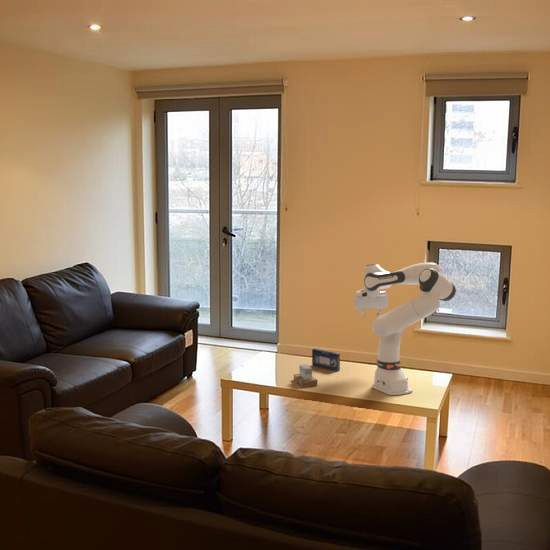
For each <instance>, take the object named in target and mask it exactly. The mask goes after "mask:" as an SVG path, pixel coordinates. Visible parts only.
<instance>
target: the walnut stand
mask: <svg viewBox="0 0 550 550" xmlns="http://www.w3.org/2000/svg"><path fill="white" fill-rule="evenodd" d="M293 380H294V381H295V382H296V383H297V384H298V383H299V386H301V387H302V388H309V386H311V387H317V386H318V379H316V378H315V377H314V376H312V379H309V380H304V379H303V378H302V377H301V376H300V373H296V374H293ZM316 385H317V386H316Z"/></svg>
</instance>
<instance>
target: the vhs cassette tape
mask: <svg viewBox="0 0 550 550" xmlns="http://www.w3.org/2000/svg"><path fill="white" fill-rule="evenodd" d="M340 360H341V354H340V353H338V352H337V353H336V352H333V351H328V350H322V349H319V348H313V349H311V363H312V364H311V365H313V366H312V367H316V366H317V367H316V368H320V367H321V368H320V369H324V368H325V370H329V369H330V371H333V370H335V371H334V372H339V370H340V368H341V365H340V364H341V361H340Z"/></svg>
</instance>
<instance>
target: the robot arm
mask: <svg viewBox="0 0 550 550" xmlns="http://www.w3.org/2000/svg"><path fill="white" fill-rule="evenodd" d="M363 271H364V272H363V288H362V289H359V290H357V291H355V294H354V295H355V297H354V299H353V308H354V310H357V311H360V312H359V313H361V318H366V313H364V311H365V310H372V309H378V310H377V312H376V316H377V317H376V318H375V319H374V320H373V322H372V325H371V329H372V333H374V334H375V336H377V337H380V340H379V342H378V346H377V347H378V348H377V359H376V366H377V367H376V370H375V372H374V375H373V376H374V377H373V383H372V385H371V388H372V389H375V390H377V391H379V392H382V393H384V394H387V395H389V396H399V395H407V394H411V393H413V389H412V388H411V387H410V386H409V385H408V384H409V383H408V381H409V377H408V376H406V375H405V373H404V371H403V370H402V364H401V361H400V349H401V348H400V347H401V340H402V338H403V332H404V329H405V328H407V327H409V326H411V325H413V324H415V323H417V322H420V321H421V320H424V319H425V318H427V317H429V316H430V315H432V314H434V313H435V312H436V311H437V310H438V309H439V308H440V305H441V301H442V302H448V301H451V300H452V299H453V298H454V297H455V296H456V293H457V288H456V286H455V285H454V284H453V282H451V281H450V280H449V279H448V278H447V277H446V276H445V275H444V274H442V271H441V268H440V266H439V265H438V263H435V262H420V263H416V264H415V263H414V264H411V265H409V266H406V267H403V268H401V269H399V270H396V271H392V272H391V271H389V270H388V271H387V270H385V269H384V268H383V267H381V266H380V265H379V264H378V263H369V264H367V265H365V266H364V269H363ZM394 285H412V286H413V285H415V286H416V285H419V291H421V292H422V293H421V294H420V295H418V296H416V297H415V298H414V297H413V299H411V300H409V301H407V302H405V303H404V304H402V305H399V306H397V307H395V308H393V309H391V310H389V311H388V312H385V313H383V314H381V313H382V311H383V309H385V308H388V306H389V299H388V298H389V294H388V292H386V291H385V290H384V289H389V288H392V286H394ZM380 290H384V291H380Z"/></svg>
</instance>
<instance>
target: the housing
mask: <svg viewBox="0 0 550 550" xmlns="http://www.w3.org/2000/svg"><path fill="white" fill-rule="evenodd" d="M299 374H300V376H301V377H302V378H303V379H304V380H309V379H312V377H313V368H312V367H311V366H309V365H308V364H299Z"/></svg>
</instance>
